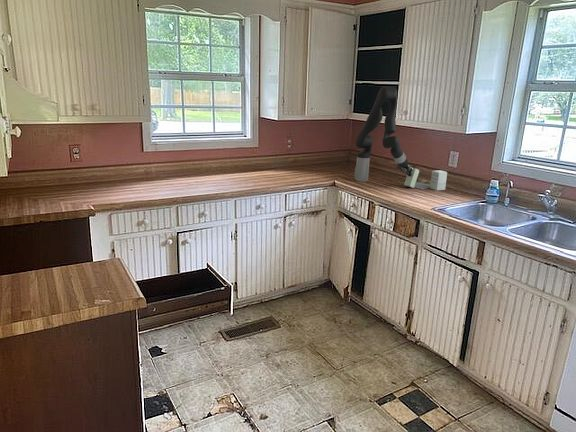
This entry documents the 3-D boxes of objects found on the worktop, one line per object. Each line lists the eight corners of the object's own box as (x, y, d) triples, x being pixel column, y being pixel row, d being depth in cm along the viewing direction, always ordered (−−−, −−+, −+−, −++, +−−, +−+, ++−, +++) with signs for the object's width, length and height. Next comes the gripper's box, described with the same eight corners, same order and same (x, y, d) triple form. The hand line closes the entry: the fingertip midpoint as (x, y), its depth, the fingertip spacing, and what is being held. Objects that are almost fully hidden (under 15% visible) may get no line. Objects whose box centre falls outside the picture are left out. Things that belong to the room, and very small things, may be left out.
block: (403, 185, 309) (409, 167, 309) (407, 186, 313) (413, 169, 312) (409, 186, 306) (415, 168, 305) (413, 188, 309) (419, 170, 308)
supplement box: (438, 187, 313) (440, 170, 310) (445, 190, 307) (447, 172, 303) (429, 188, 311) (431, 170, 307) (436, 190, 304) (439, 172, 300)
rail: (417, 182, 328) (418, 179, 327) (419, 182, 329) (419, 179, 328) (436, 186, 316) (437, 183, 316) (437, 186, 317) (438, 183, 316)
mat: (403, 185, 318) (403, 184, 318) (417, 182, 328) (417, 182, 328) (422, 189, 306) (422, 188, 306) (436, 186, 316) (436, 186, 316)
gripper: (411, 156, 292) (420, 172, 303) (395, 153, 302) (405, 169, 313) (405, 164, 290) (415, 181, 301) (389, 161, 300) (399, 177, 311)
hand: (410, 175), depth 307 cm, fingers closed
